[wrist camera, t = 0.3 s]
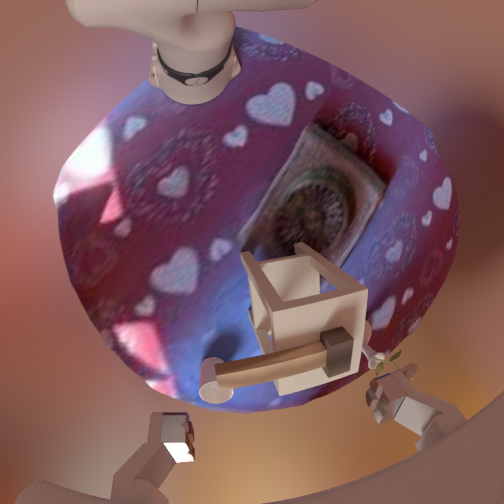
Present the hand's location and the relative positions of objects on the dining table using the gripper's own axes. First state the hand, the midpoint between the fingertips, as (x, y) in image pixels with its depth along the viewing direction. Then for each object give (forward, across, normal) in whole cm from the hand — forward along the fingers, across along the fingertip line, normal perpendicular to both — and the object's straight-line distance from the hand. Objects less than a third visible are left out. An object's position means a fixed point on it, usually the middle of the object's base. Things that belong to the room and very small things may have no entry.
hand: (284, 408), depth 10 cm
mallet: (+21, -5, +17) cm, 27 cm away
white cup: (+45, +7, +40) cm, 61 cm away
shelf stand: (+47, -10, +18) cm, 51 cm away
